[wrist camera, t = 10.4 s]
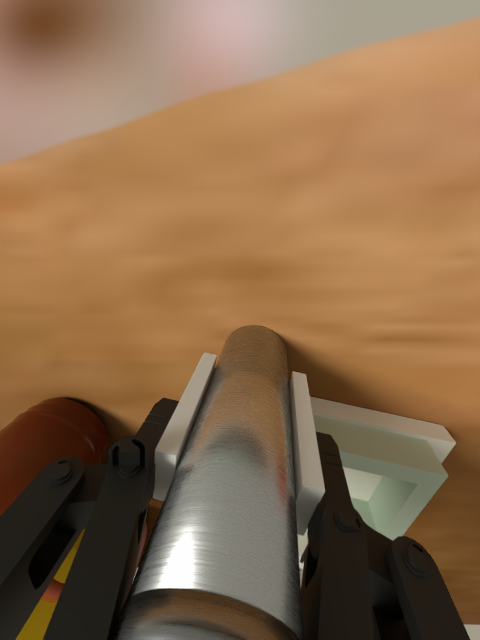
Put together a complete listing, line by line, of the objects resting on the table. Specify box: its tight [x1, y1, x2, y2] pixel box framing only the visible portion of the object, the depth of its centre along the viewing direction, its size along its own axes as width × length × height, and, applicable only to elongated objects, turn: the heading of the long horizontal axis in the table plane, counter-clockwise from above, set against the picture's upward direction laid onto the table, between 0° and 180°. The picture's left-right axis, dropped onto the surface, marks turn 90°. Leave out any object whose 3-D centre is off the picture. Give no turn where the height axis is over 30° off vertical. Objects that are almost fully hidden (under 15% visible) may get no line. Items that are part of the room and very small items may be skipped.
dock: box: [298, 396, 456, 569], centre depth 19 cm, size 12×13×4 cm
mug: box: [0, 398, 108, 603], centre depth 19 cm, size 12×9×10 cm
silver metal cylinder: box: [111, 325, 304, 640], centre depth 11 cm, size 4×4×15 cm
